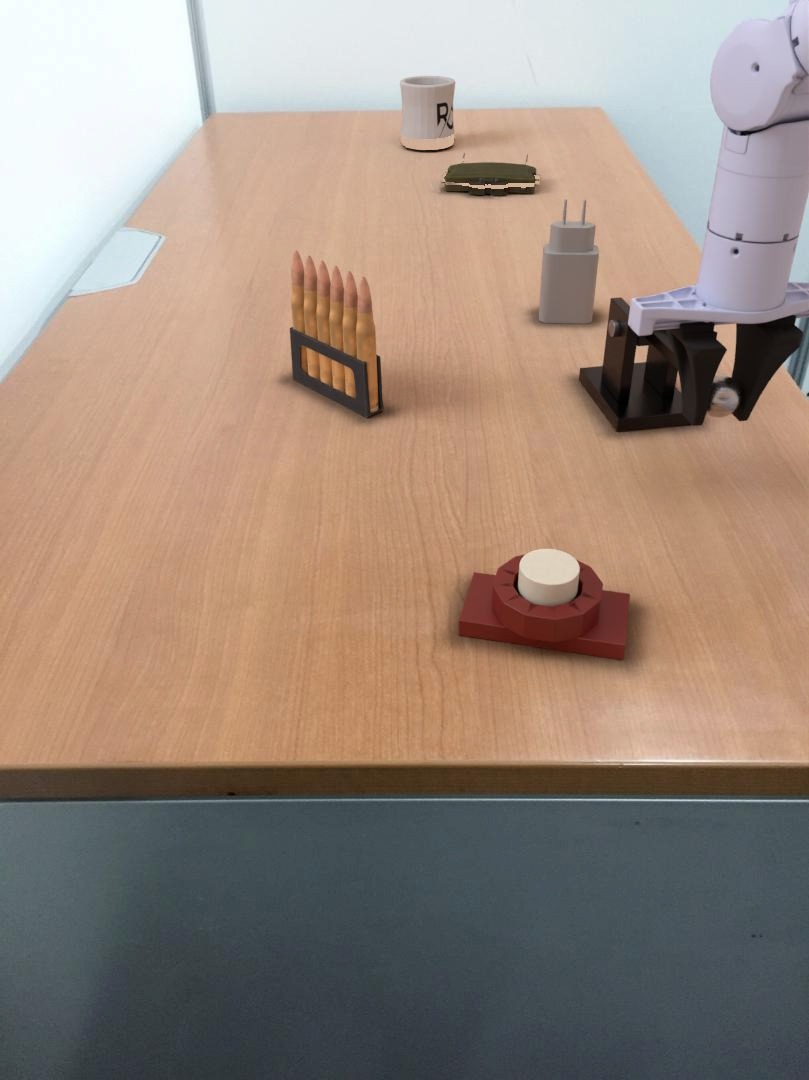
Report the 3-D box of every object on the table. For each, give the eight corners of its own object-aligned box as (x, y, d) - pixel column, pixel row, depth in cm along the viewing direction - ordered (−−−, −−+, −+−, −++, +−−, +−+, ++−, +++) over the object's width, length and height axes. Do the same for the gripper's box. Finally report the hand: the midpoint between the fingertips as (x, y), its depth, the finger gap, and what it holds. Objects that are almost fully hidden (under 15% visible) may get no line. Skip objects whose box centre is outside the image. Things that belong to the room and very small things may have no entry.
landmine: (438, 175, 135) (450, 149, 147) (438, 194, 136) (450, 167, 148) (539, 178, 133) (543, 151, 145) (538, 197, 134) (542, 169, 146)
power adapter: (592, 323, 98) (605, 204, 91) (539, 322, 98) (547, 204, 91) (590, 312, 100) (602, 195, 93) (538, 311, 101) (546, 194, 94)
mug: (437, 155, 154) (438, 87, 148) (389, 148, 158) (388, 82, 152) (473, 139, 163) (475, 74, 157) (427, 133, 166) (427, 70, 161)
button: (580, 575, 59) (582, 552, 58) (574, 611, 57) (576, 588, 56) (522, 567, 60) (524, 544, 59) (513, 602, 57) (515, 579, 56)
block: (628, 600, 61) (634, 563, 60) (622, 668, 56) (628, 630, 55) (475, 579, 63) (476, 542, 62) (455, 643, 58) (456, 605, 57)
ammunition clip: (384, 411, 83) (380, 276, 76) (368, 418, 82) (362, 282, 75) (308, 372, 89) (297, 245, 82) (292, 378, 88) (280, 250, 81)
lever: (744, 422, 68) (752, 384, 66) (705, 426, 68) (712, 387, 66) (653, 335, 82) (658, 301, 80) (620, 338, 82) (624, 304, 80)
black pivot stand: (696, 424, 80) (714, 325, 75) (616, 432, 79) (629, 332, 74) (651, 373, 88) (665, 280, 83) (578, 379, 87) (587, 286, 82)
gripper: (824, 204, 66) (781, 383, 74) (622, 217, 64) (600, 400, 72) (883, 236, 60) (829, 427, 68) (664, 252, 58) (635, 447, 66)
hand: (715, 416), depth 69 cm, fingers closed on lever, 3 cm apart
